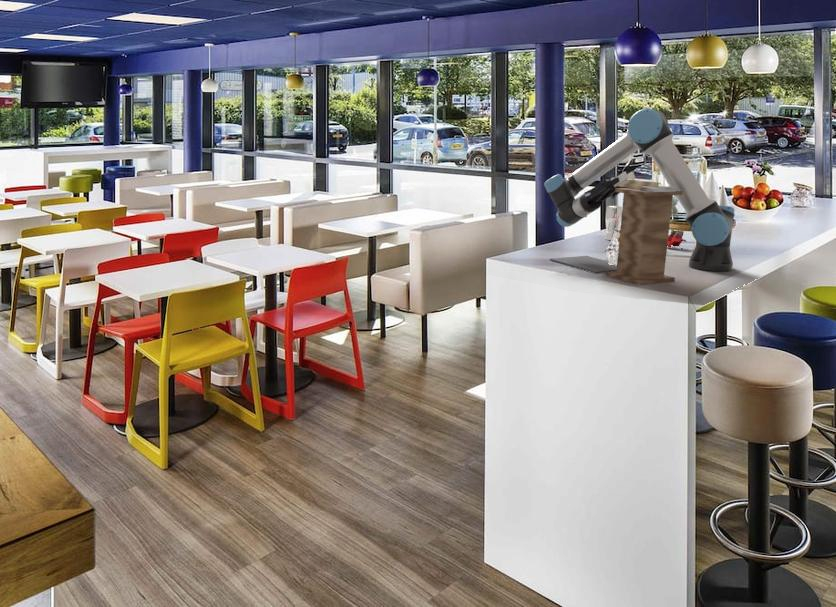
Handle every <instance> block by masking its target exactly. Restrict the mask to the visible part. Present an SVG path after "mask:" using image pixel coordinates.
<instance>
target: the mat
mask: <svg viewBox="0 0 836 607" xmlns="http://www.w3.org/2000/svg"><path fill="white" fill-rule="evenodd" d="M549 261H552V262H554V263H557V264H560V265H566V266H569V267H572V266H573V268H575V267H576V269H578V268H580V269H579V270H582V269H584V270H583V271H585V270H587V271H586V272H589V271H590V272H589V273H592V272H594V273H593V274H601V272H605V273H606V272H611V271H617V266H615V265H609V264H608V262H607V261H608V260H604V259H601V258H597V257H593V256H590V255H580V256H579V255H577V256H568V257H566V256H565V257H553V258H549Z"/></svg>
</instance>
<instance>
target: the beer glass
mask: <svg viewBox="0 0 836 607" xmlns="http://www.w3.org/2000/svg"><path fill="white" fill-rule="evenodd" d="M622 207H623V206H620V205H607V206H606V211H605V227H606V228H605V236H604V240H605V239H607V240H606V241H611V238H612V236H613V234H614V230H615V228H616V229H619V230H620V227H621V218H622Z"/></svg>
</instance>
